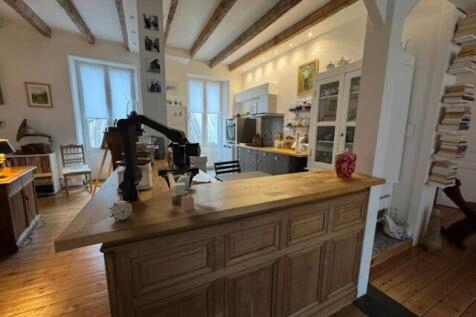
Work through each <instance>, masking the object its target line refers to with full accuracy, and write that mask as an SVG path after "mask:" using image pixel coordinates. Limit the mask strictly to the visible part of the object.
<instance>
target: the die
mask: <svg viewBox="0 0 476 317" xmlns="http://www.w3.org/2000/svg"><path fill="white" fill-rule="evenodd" d="M189 176H190V175H179V178H178V179H177V181H176V182H175V183H183V182H185V191H190V190H191V188H192V187H193V184H194V182H193V181H192V182H191V186H190V188H189Z"/></svg>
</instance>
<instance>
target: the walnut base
mask: <svg viewBox="0 0 476 317" xmlns="http://www.w3.org/2000/svg"><path fill="white" fill-rule="evenodd" d="M183 196H189V190H185V195H178V196H176V191H173V192H172V195H171V204H172V205H177V204H180V205H181V197H183Z"/></svg>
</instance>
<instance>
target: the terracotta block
mask: <svg viewBox="0 0 476 317" xmlns="http://www.w3.org/2000/svg"><path fill="white" fill-rule="evenodd" d="M180 205H181V206H180V207H181V209H182V210H183V211H184V212H185V211H189V210H190V211H191V210H194V209H195V198H194V197H193V196H192V195H189V194H188V196H183V197H181V203H180Z"/></svg>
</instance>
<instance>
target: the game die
mask: <svg viewBox="0 0 476 317" xmlns="http://www.w3.org/2000/svg"><path fill="white" fill-rule="evenodd" d="M133 206H134V203H130V201H123V199H122V197H120V198H119V201H118V202H116V203H115V202H113V206H112V207H108V209H109V210H110V212H111V215H110V216H109V218H112V217H113V218H114V220H120V221H122V223H125V220H126V219H127V218H128V217H131V216H130V215H132V213H136V211H135V210H133Z"/></svg>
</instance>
